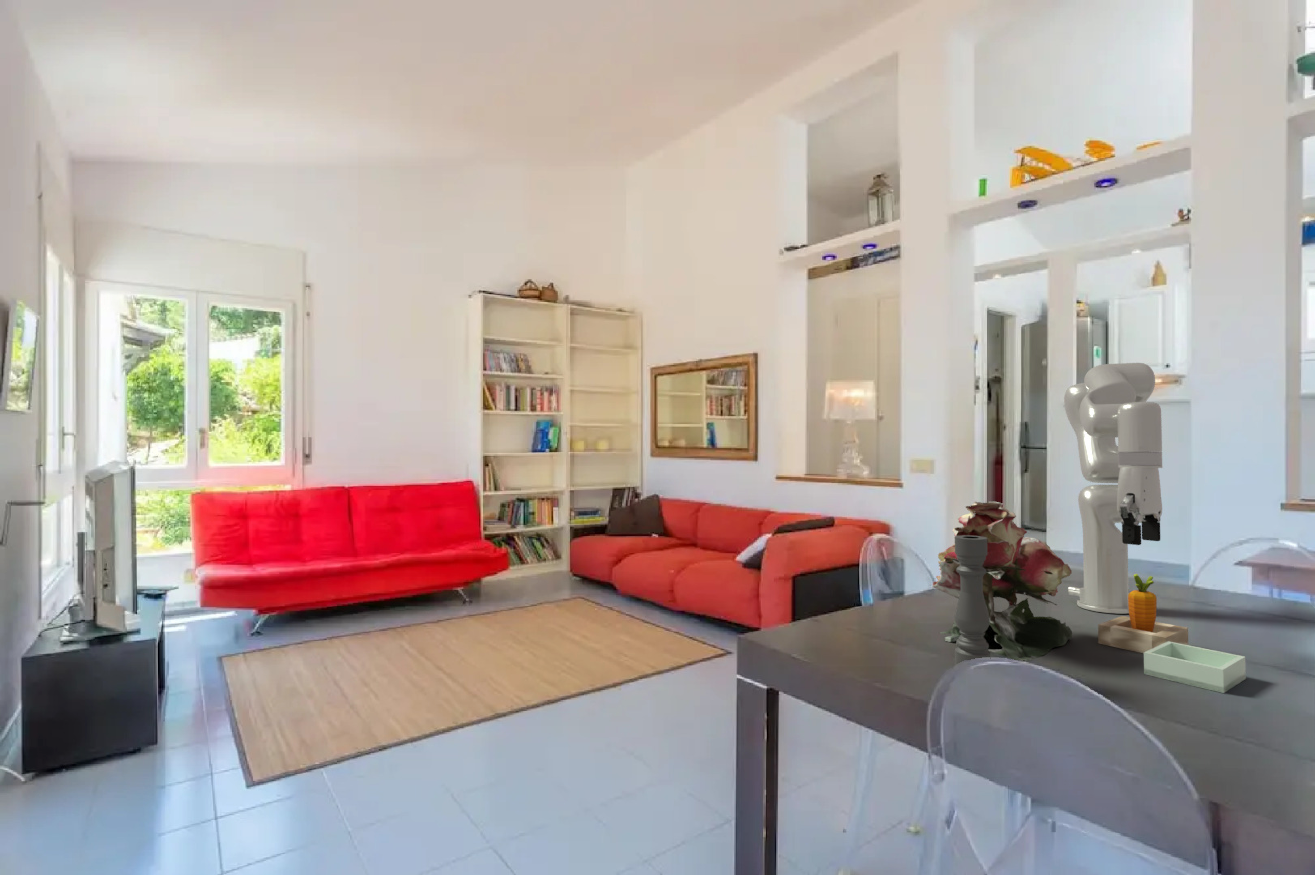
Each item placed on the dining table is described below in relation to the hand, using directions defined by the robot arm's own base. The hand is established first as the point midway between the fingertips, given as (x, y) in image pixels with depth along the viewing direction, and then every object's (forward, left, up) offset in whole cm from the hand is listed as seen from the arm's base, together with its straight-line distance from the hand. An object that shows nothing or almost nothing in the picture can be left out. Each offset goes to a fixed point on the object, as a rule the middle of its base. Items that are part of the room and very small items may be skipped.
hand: (1141, 542), depth 140 cm
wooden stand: (0, 0, -22) cm, 22 cm away
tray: (+13, -14, -22) cm, 29 cm away
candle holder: (-13, -42, -22) cm, 49 cm away
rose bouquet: (-22, -18, -22) cm, 36 cm away
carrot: (0, 0, -22) cm, 22 cm away
